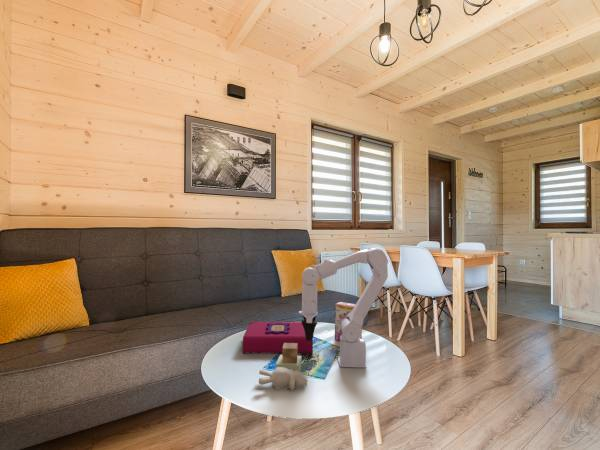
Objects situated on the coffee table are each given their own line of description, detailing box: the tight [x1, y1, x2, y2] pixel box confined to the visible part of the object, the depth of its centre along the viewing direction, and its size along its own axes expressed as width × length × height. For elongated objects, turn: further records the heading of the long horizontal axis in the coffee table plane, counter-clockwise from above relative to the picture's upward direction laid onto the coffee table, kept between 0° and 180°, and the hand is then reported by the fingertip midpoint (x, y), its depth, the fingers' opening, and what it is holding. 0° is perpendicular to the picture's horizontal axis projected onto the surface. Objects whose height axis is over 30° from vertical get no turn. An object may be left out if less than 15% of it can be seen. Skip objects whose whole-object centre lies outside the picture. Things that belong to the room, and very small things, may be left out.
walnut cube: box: [282, 343, 299, 363], centre depth 110 cm, size 5×5×5 cm
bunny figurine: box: [258, 367, 308, 391], centre depth 99 cm, size 10×5×15 cm
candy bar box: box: [334, 301, 363, 342], centre depth 137 cm, size 11×5×16 cm, turn 58°
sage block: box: [275, 354, 303, 371], centre depth 110 cm, size 8×8×4 cm
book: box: [242, 320, 314, 354], centre depth 133 cm, size 21×28×8 cm
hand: (309, 336), depth 116 cm, fingers open, 7 cm apart
